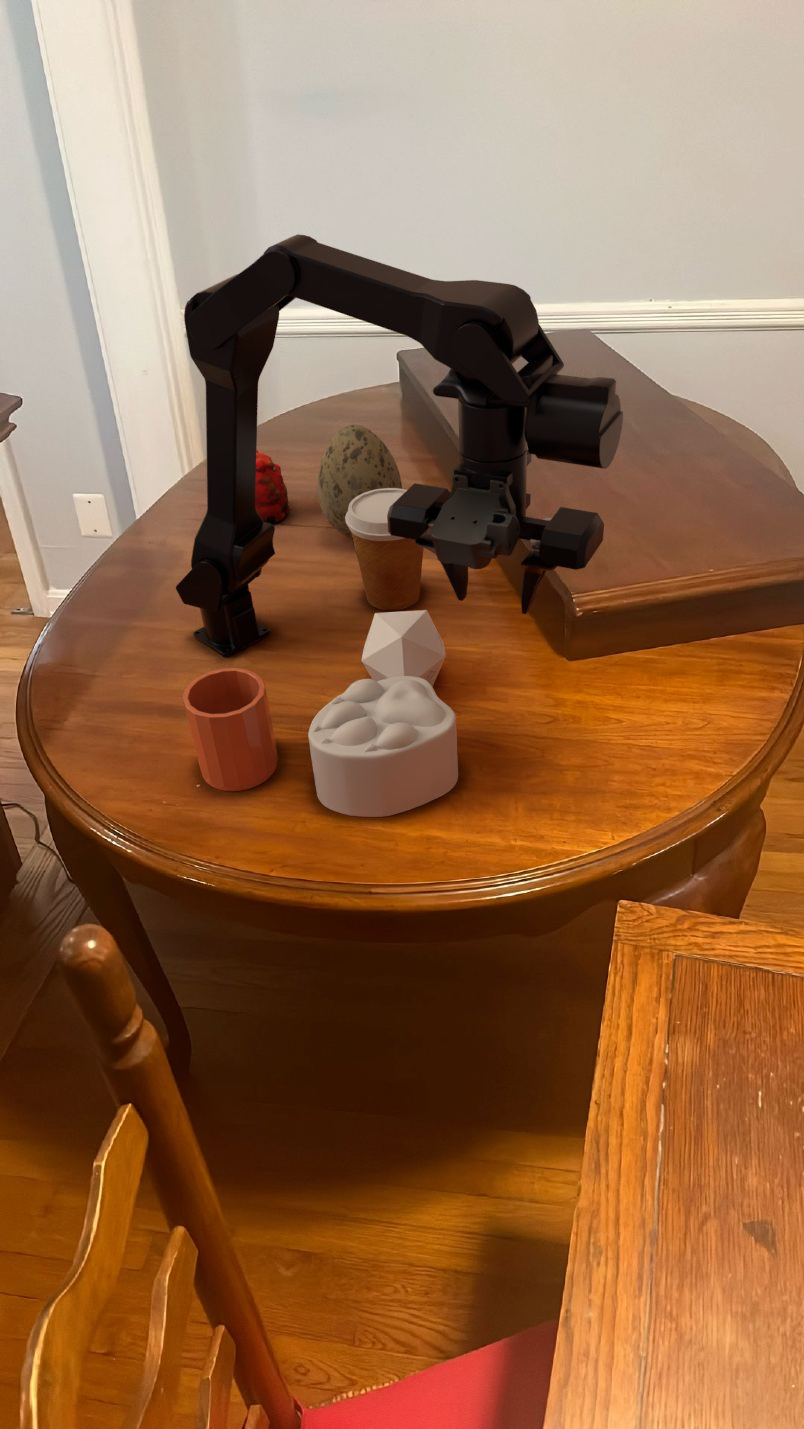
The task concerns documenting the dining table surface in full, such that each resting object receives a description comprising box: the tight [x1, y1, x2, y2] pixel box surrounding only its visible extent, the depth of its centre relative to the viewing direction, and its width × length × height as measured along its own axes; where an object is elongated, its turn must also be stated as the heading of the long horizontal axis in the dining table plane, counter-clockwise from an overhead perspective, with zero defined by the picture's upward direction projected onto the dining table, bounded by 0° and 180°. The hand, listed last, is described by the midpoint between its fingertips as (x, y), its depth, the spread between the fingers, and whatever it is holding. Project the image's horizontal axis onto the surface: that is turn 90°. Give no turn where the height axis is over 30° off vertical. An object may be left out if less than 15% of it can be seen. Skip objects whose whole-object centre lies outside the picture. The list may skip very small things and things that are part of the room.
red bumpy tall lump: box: [255, 449, 290, 524], centre depth 133 cm, size 8×7×15 cm
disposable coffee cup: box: [345, 488, 425, 611], centre depth 115 cm, size 10×10×12 cm
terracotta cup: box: [182, 667, 279, 792], centre depth 93 cm, size 7×7×9 cm
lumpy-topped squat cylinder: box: [308, 676, 459, 818], centre depth 91 cm, size 10×13×9 cm
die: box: [360, 609, 446, 688], centre depth 103 cm, size 8×9×10 cm
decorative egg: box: [317, 424, 403, 539], centre depth 126 cm, size 11×11×15 cm
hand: (493, 605), depth 94 cm, fingers open, 6 cm apart
